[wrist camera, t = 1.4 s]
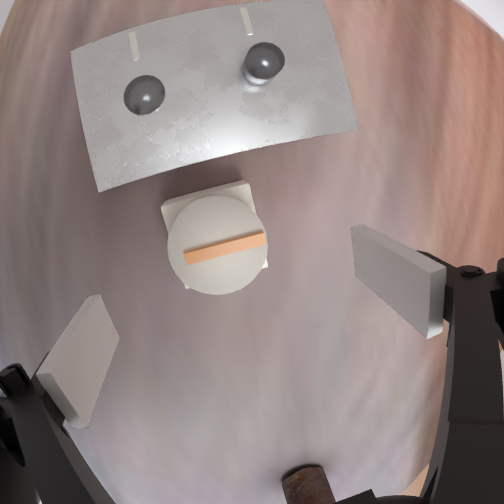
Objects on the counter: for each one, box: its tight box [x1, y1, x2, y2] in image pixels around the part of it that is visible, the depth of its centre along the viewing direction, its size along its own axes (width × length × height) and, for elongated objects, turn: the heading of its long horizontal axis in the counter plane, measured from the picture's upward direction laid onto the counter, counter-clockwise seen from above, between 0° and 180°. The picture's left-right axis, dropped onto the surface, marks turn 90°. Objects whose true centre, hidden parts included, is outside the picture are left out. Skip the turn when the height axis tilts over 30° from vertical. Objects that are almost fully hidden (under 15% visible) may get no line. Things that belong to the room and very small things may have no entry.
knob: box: [161, 180, 268, 295], centre depth 25 cm, size 7×7×8 cm
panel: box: [70, 0, 359, 192], centre depth 23 cm, size 24×14×4 cm, turn 103°
